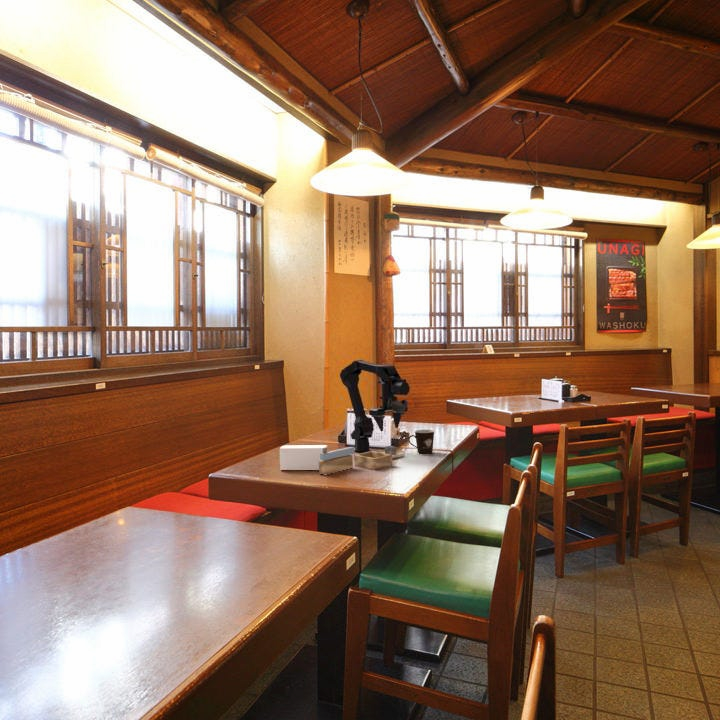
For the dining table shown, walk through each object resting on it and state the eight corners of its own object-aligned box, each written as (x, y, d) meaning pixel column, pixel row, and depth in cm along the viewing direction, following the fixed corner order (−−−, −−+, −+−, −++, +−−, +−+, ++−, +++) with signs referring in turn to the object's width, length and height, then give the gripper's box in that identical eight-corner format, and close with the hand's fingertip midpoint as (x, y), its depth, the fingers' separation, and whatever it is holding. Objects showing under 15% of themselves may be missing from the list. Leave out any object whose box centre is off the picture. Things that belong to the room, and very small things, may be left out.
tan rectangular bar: (319, 474, 216) (318, 461, 216) (348, 467, 226) (347, 454, 226) (323, 475, 214) (323, 462, 214) (352, 468, 224) (352, 455, 224)
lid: (370, 457, 245) (370, 446, 245) (385, 453, 252) (385, 442, 251) (389, 461, 236) (388, 449, 236) (404, 457, 243) (404, 446, 243)
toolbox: (354, 465, 229) (354, 455, 228) (372, 461, 235) (371, 450, 235) (374, 470, 220) (374, 459, 220) (392, 465, 226) (392, 454, 226)
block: (320, 459, 216) (319, 448, 216) (351, 452, 227) (350, 441, 226) (323, 460, 214) (323, 448, 214) (354, 453, 225) (354, 442, 225)
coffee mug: (434, 451, 252) (434, 429, 251) (435, 455, 243) (434, 432, 243) (408, 451, 253) (408, 429, 252) (408, 455, 244) (407, 433, 244)
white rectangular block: (328, 468, 227) (328, 445, 227) (326, 471, 221) (325, 447, 221) (281, 468, 230) (280, 445, 229) (277, 471, 224) (276, 448, 224)
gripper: (386, 397, 229) (387, 434, 230) (416, 393, 242) (417, 428, 243) (367, 395, 238) (368, 432, 238) (397, 391, 250) (398, 426, 251)
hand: (389, 429), depth 242 cm, fingers open, 9 cm apart
